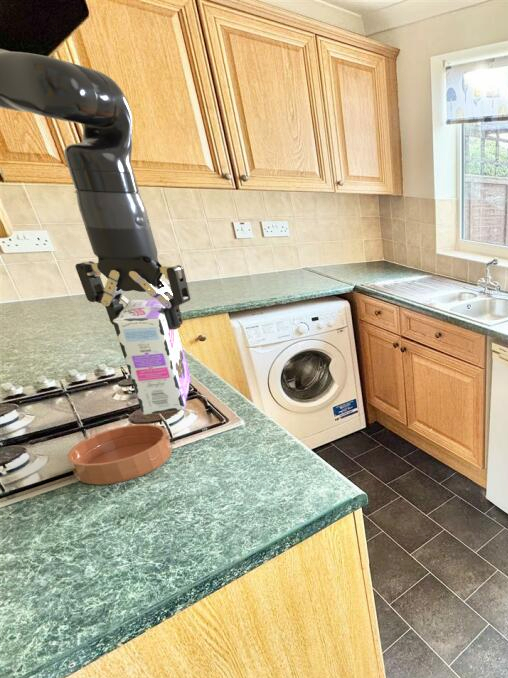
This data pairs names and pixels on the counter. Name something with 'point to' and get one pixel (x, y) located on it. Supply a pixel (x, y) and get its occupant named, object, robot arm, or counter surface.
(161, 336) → the candy box
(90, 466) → the pan
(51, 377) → the counter surface
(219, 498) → the counter surface
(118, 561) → the counter surface
